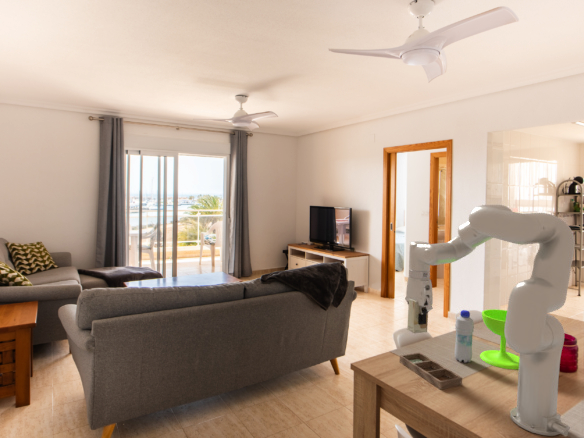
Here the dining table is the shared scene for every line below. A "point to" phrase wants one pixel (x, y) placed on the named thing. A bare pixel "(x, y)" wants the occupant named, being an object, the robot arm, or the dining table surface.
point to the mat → (415, 360)
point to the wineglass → (495, 357)
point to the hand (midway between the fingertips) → (417, 321)
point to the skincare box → (415, 318)
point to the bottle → (464, 337)
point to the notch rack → (431, 375)
